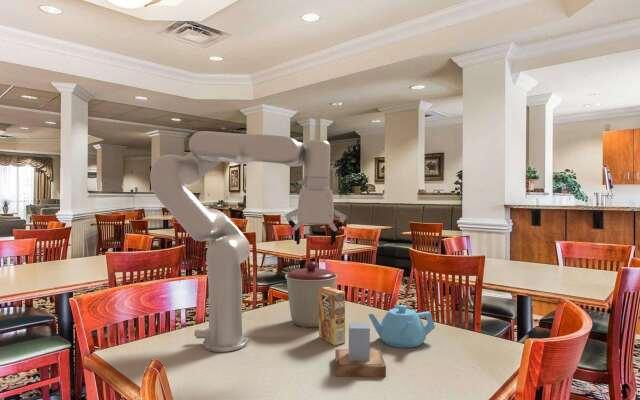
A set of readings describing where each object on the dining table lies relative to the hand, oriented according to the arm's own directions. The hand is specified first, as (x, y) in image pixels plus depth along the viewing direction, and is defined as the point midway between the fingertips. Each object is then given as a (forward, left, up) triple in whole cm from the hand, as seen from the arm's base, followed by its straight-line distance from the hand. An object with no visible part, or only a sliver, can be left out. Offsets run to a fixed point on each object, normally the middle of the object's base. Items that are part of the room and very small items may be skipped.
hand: (315, 244), depth 119 cm
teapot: (+26, +7, -30) cm, 40 cm away
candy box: (+5, +7, -30) cm, 31 cm away
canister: (-2, +24, -30) cm, 39 cm away
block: (+12, -13, -27) cm, 32 cm away
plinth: (+12, -13, -30) cm, 34 cm away
